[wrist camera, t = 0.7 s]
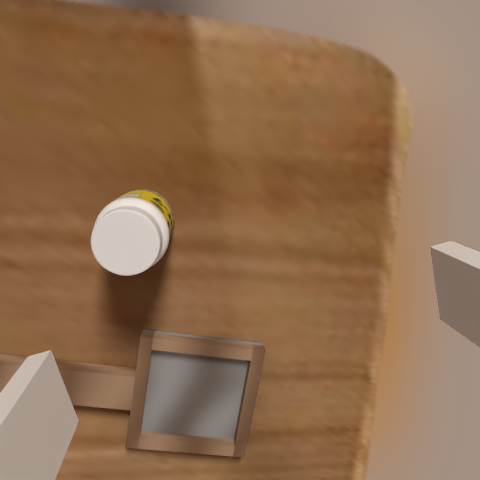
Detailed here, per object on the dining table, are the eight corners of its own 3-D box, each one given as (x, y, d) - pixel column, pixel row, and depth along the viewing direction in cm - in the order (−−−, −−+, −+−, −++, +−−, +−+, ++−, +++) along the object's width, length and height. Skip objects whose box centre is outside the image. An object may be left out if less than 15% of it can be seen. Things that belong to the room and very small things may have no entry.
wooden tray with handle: (-66, 420, 35) (-91, 447, 32) (-62, 305, 33) (-90, 322, 30) (242, 446, 38) (246, 473, 35) (262, 343, 36) (268, 361, 33)
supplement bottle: (182, 239, 34) (177, 270, 26) (124, 256, 34) (100, 293, 25) (163, 180, 33) (151, 192, 24) (102, 198, 32) (70, 217, 24)
